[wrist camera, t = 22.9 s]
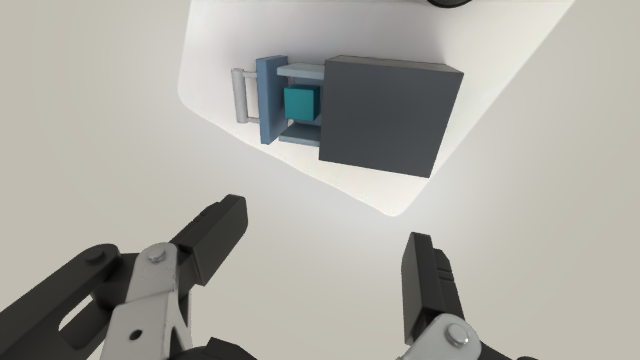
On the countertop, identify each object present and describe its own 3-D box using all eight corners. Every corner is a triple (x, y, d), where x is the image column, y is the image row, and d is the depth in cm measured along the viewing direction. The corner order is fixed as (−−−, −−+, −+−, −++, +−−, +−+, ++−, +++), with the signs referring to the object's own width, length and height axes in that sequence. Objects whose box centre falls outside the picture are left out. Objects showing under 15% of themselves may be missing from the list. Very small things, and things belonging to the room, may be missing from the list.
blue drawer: (253, 123, 41) (228, 138, 34) (247, 52, 35) (217, 55, 29) (358, 138, 38) (351, 158, 31) (369, 63, 32) (364, 69, 26)
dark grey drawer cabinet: (332, 136, 39) (318, 160, 32) (339, 55, 33) (325, 60, 26) (421, 149, 37) (429, 178, 29) (446, 64, 31) (464, 73, 23)
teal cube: (293, 111, 37) (285, 118, 34) (292, 83, 35) (283, 87, 32) (319, 114, 36) (313, 121, 33) (320, 85, 34) (313, 90, 31)
